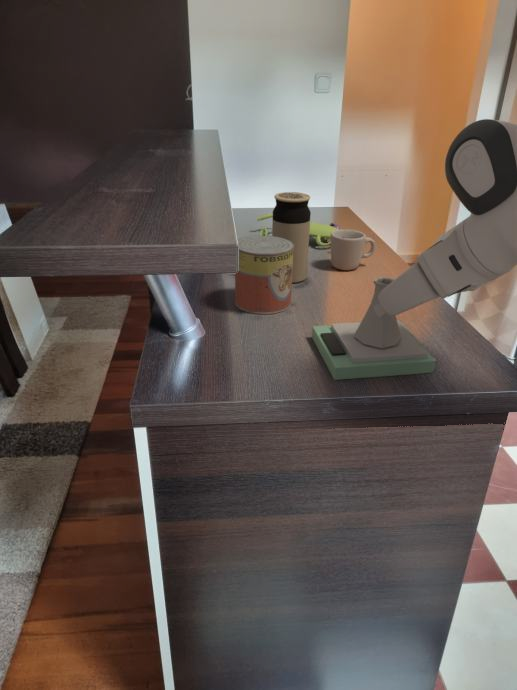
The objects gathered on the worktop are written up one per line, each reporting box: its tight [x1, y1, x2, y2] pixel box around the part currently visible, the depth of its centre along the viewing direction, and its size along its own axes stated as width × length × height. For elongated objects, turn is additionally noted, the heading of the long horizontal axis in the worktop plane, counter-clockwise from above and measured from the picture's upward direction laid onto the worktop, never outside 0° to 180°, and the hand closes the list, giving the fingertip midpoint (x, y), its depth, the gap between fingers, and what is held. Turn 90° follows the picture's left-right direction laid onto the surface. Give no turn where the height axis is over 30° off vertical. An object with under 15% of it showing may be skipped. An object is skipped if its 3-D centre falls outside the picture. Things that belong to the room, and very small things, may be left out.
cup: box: [330, 229, 376, 271], centre depth 120 cm, size 11×8×8 cm
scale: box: [311, 319, 437, 381], centre depth 84 cm, size 16×14×3 cm
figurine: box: [257, 212, 341, 247], centre depth 138 cm, size 18×27×6 cm
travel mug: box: [271, 191, 312, 284], centre depth 111 cm, size 8×8×18 cm
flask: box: [354, 276, 401, 348], centre depth 81 cm, size 7×7×10 cm
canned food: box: [234, 235, 294, 315], centre depth 100 cm, size 11×11×12 cm
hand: (394, 302), depth 80 cm, fingers open, 8 cm apart
